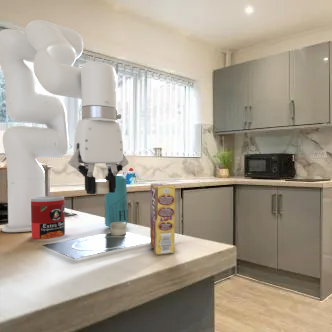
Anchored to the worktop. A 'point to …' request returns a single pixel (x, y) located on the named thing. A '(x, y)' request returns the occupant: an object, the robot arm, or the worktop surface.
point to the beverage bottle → (116, 203)
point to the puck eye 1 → (102, 186)
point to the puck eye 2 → (118, 228)
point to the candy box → (162, 218)
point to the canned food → (47, 217)
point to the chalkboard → (96, 244)
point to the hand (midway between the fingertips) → (100, 192)
